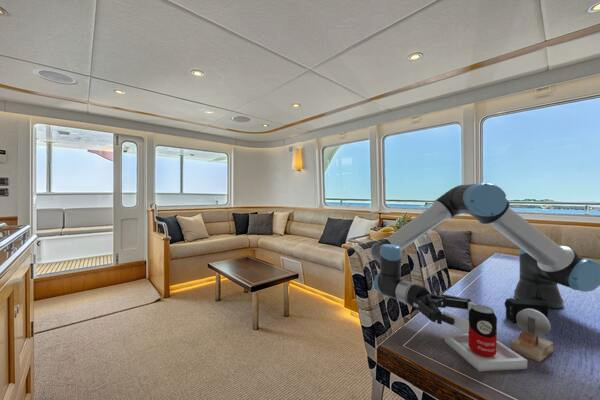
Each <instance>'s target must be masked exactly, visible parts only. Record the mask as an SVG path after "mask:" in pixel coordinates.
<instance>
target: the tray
mask: <svg viewBox="0 0 600 400" xmlns="http://www.w3.org/2000/svg"><path fill="white" fill-rule="evenodd" d="M444 343H446V344H447V345H448V346H449V347H450V348H451V349H452V350H453V351H455V352H456V353H457V354H458V355H459V356H461V358H463V359H464V360H465V361H466V362H467V363H469V364H470V365H471V366H472V367H473V368H474V369H475V370H476V371H477V372H492V371H511V370H527V369H528V359H526V358H525V357H523V355H521V354H519V353H517V352H514V351H513V350H511V348H509V347H508V346H506V345H505V344H504V343H502V342H501V341H499V340H497V352H496V354H495V355H494V356H491V357H484V356H481V355H478V354H476V353H475V352H473V351H472V350H471V348H470V347H469V345H468V332H466V333H448V334H446V333H445V334H444Z"/></svg>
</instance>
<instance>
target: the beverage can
mask: <svg viewBox="0 0 600 400" xmlns="http://www.w3.org/2000/svg"><path fill="white" fill-rule="evenodd" d="M468 321H469V332H467V333H468V345H469V347H470V348H471V350H472V351H473V352H475V353H476V354H478V355H481V356H484V357H491V356H494V355H495V354H496V352H497V341H498V338H497V337H498V336H497V334H498V330H497V329H498V317H497V316H496V314H495V310H494V309H493V308H492V307H490V306H486V305H484V304H483V305H482V304H477V305H472V306H471V309H470V310H469V311H468Z"/></svg>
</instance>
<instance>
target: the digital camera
mask: <svg viewBox="0 0 600 400" xmlns="http://www.w3.org/2000/svg"><path fill="white" fill-rule="evenodd" d="M504 307H505V318H506V319H507V320H508V321H509V322H511V323H512V324H517V321H516V315H517V313H518V312H520V311H521V310H523V309H528V308H529V309H535V310H537V311H539V312H541V313H542V314H544V315H545V316H546V317H547V318H548V317H549V311H548V310H549V308H548V306H547V305H545V304H543V303H541V302H539V301H532V300H518V299H516V298H513V297H511V298H510V297H509V298H506V299H505V302H504ZM548 319H549V318H548ZM517 325H518V324H517Z"/></svg>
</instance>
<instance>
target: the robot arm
mask: <svg viewBox="0 0 600 400" xmlns="http://www.w3.org/2000/svg"><path fill="white" fill-rule="evenodd" d="M510 206H511V204H510V201H509V200H508V198H507V195H506V192H505V191H504V190H503V189H502V188H501V187H499V186H498V185H496V184H493V183H486V182H477V183H472V184H470V183H469V184H460V185H457V186H454V187H453V188H451V189H450V190H448V191H446V192H445V193H443V194H442V195H440V197H438V198H437V199H435V200H434V201H432V205H431V206H429V208H427V209H425V210H424V211H423V212H421V213H420V214H419V215H417V216H416V217H414V218H413V219H412V220H410V221H409V222H407V223H406V224H405V225H403V226H402V227H400V228H399V229H397V230H396V231H395V232H393V233H392V234H391V235H389V236H388V237H387V238H385V239H384V240H382V241H380V242H375V243H373V245H371V248H370V254H371V255H372V257H373V259H374V260H375V261H377V262H378V263H379V273H377V274H376V275H375V276H374V280H373V283H372V284H373V288H374V289H375V291H376V292H377V293H379V294H381V295H383V296H386V297H389V298H391V299H394V300H396V301H398V302H401V303H403V304H404V305H407V306H410V307H412V308H413V309H415V310H417V311H418V312H419V313H421V314H422V315H423V316H424V317H426V318H427V319H428V320H430V321H431V322H432V323H436V324H438V325H442V323H445V324H448V325H450V326H452V327H454V328H456V329H459V330H462V331H463V332H466V333H468V332H469V320H467V319H465V318H462V317H460V316H457V315H454V314H452V313H450V312H446V311H443V312H442V311H441V310H440V309H446V308H452V309H460V310H467V311H468V312H469V310H470V309H471V306H472V305H478V303H473V302H472V299H471V298H468V297H467V298H465V297H461V296H460V297H459V296H455V295H451V294H444V293H441V292H436V293H434V294H433V293H430V291H429V290H428V289H427V287H425V286H422V285H419V284H416V283H414V282H410V281H407V280H404V279H401V278H402V274H401V272H402V251H403V250H404V249H405V248H407V247H408V246H410V245H411V244H412V243H414V242H416V241H417V240H418V239H419V238H421V237H423V236H424V235H425V234H426V233H428V232H430V231H431V230H432V229H433V228H436V227H437V226H438V225H440V223H443V221H446V220H451V219H452V218H454V217H456V216H458V215H461V214H463V215H469V216H471V217H472V218H474V219H475V220H477V221H478V222H479V223H480V224H482V225H490V226H492V227H493V228H494V229H495V230H496V231H498V232H499V233H500V234H501V235H503V236H504V237H506V238H507V239H508V240H510V241H511V242H512V243H513V244H515V245H516V246H517V247H519V254H518V255H519V279H518V281H517V283H516V287H515V289H514V291H513V297H514V299H516V300H532V301H539V302H541V303H543V304H545V305H547V306H548V309H562V308H564V299H563V298H562V295H561V292H560V289H559V286H558V285H561V286H563V287H566V288H569V289H572V291H573V290H574V291H579V292H583V293H587V292H592V291H595V290H596V289H598V288H599V287H600V263H599V262H598V261H596V260H593V259H592V258H586V257H583V256H581V255H580V254H578V253H577V252H576V251H574V250H573V249H572V248H570V247H569V246H566V245H559V244H557V243H556V242H555V241H553V240H552V239H551V238H550V237H549V236H547V235H545V234H544V233H543V232H542V231H541V230H539V229H537V227H535V226H534V225H533V224H531V223H530V222H529V221H527V220H526V219H525V218H524V217H522V216H521V215H520V214H518V213H517V212H515V211H514V210H513V209H512V208H510ZM439 308H440V309H439Z"/></svg>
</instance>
